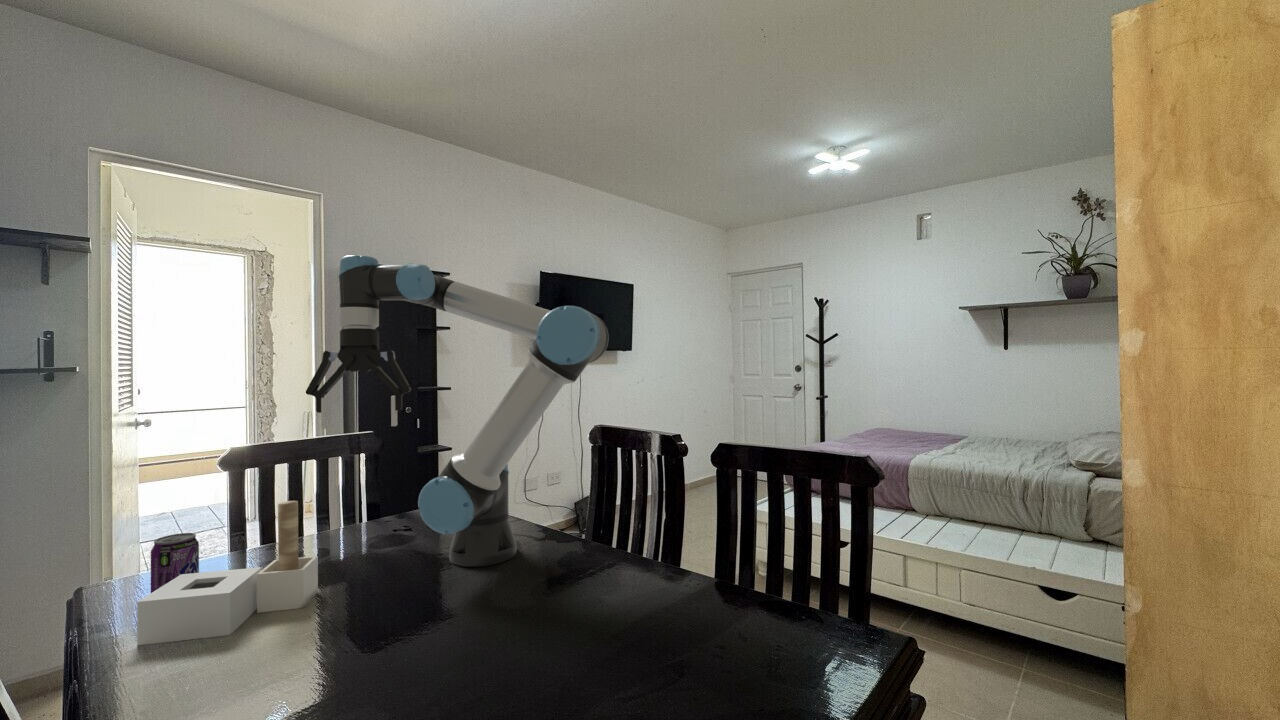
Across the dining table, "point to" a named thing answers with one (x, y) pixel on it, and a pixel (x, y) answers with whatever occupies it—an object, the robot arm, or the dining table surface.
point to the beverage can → (173, 558)
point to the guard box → (197, 606)
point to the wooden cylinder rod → (288, 535)
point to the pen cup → (287, 585)
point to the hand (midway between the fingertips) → (360, 427)
